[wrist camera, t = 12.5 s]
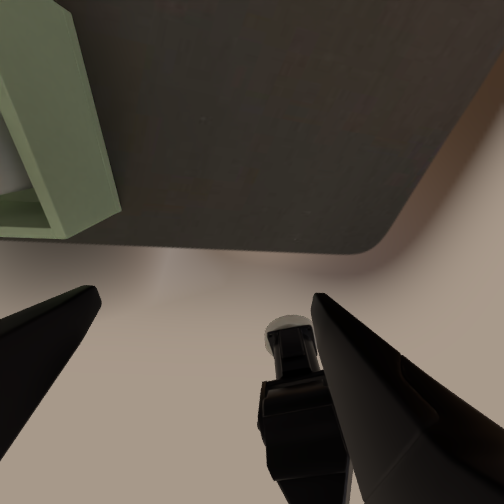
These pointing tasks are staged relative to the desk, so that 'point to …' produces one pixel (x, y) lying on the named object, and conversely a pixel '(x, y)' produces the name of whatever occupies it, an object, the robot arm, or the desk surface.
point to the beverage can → (11, 164)
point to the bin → (51, 125)
